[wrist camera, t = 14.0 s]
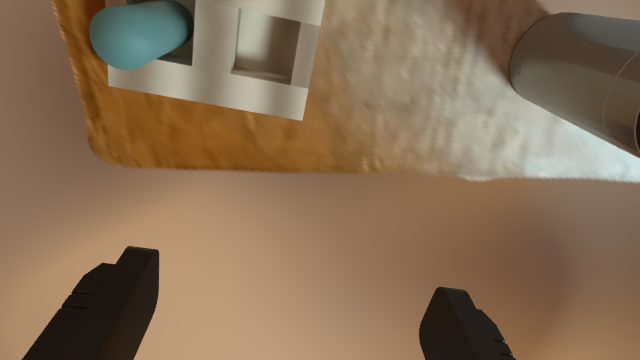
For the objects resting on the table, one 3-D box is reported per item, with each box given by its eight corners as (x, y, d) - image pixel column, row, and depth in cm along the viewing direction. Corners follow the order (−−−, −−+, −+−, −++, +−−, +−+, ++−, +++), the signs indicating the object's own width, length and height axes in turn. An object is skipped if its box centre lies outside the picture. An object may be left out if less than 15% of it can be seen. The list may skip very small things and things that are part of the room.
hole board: (324, -15, 36) (327, -14, 32) (302, 107, 41) (302, 120, 37) (125, -61, 34) (102, -66, 30) (128, 75, 39) (108, 85, 35)
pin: (195, 5, 35) (152, 14, 25) (192, 49, 37) (151, 75, 27) (150, -5, 35) (87, 0, 24) (150, 40, 37) (90, 63, 26)
